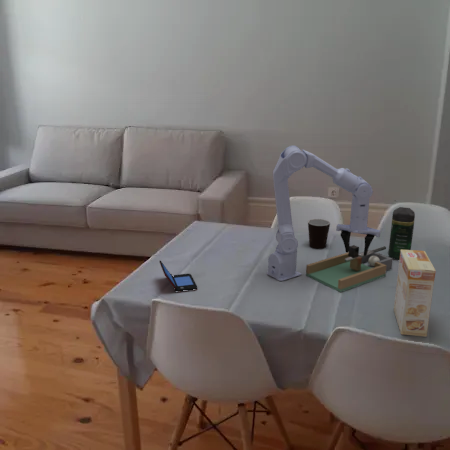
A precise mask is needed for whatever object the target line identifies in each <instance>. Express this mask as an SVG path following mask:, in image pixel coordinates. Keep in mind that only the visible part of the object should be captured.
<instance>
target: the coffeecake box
mask: <svg viewBox="0 0 450 450" xmlns="http://www.w3.org/2000/svg"><path fill="white" fill-rule="evenodd" d="M436 273H437V271H436V268H435V267H434V265H433V263H432V261H431V259H430V257H429V256H428V254H427V252H426V251H425V250H417V249H416V250H415V249H411V250H402V249H401V250H400V260H398V270H397V281H396V288H395V294H394V295H395V296H394V297H395V298H394V304H393V313H394V316H395V318H396V322H397V325H398V326H397V327H398V328H399V333H400V335H403V336H404V335H405V336H413V337H423V338H424V337H428V328H429V321H430V314H431V308H432V307H431V306H432V299H433V291H434V285H435V280H436V279H435V278H436Z"/></svg>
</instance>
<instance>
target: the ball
mask: <svg viewBox="0 0 450 450" xmlns="http://www.w3.org/2000/svg"><path fill="white" fill-rule="evenodd" d="M378 261H380V259H379V258H378V257H377V256H371V257H370V258H369V260H368V262H367V263H368V266H369V267H371V268H374V266H375V262H378Z"/></svg>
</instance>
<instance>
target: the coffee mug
mask: <svg viewBox="0 0 450 450" xmlns="http://www.w3.org/2000/svg"><path fill="white" fill-rule="evenodd" d="M307 227H308V239H309V240H308V241H309V242H308V243H309V247H310V248H311V249H315V250H323V249H326V248H327V242H328V237H329V232H330V227H331V221H329V220H327V219H323V218H312V219H309V220H308V221H307Z"/></svg>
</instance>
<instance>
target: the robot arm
mask: <svg viewBox="0 0 450 450" xmlns="http://www.w3.org/2000/svg"><path fill="white" fill-rule="evenodd" d="M303 168H305V169H309V168H314V169H316V170H318V171H320V172H321V173H323V174H325V175H327V176H329V177H331V179H332V182H333V184H334V185H337V186H338V187H340V188H341V189H343V190H345V191H347V192H349V193H351V195H352V196H351V207H350V220H349V224H340V223H338V224H337V225H336V227H335V229H336V230H335V231H336V232H340V238H341V239H342V242H343V245H344V250H345V253H348V252H349V246H350V242H351V241H350V240H351V233H353V234H360V235H365V236H364V248H363V252H364V256H366V255H367V252H368V250H369V248H370V246H371V244H372V242H373V240H374V238H375V237H376V238H380V237H381V233H382V231H381V230H382V229H376V228H373V227H369V226H368V220H369V210H370V199H371V197H372V196H373V193H374V191H373V187H372V186H371V184H370V183H368V182H367V181H366V180H365V179H364V178H363V177H362V176H360V175H358V176H357V175H355V174H353V173H352V172H351V170H350V169H349V168H347V167H346V168H344V167H340V168H336V167H335V166H333V165H331V164H330V163H328V162H326V161H325V160H323V159H322V158H320V157H319V156H317V155H316V154H314V153H312V152H310V151H307V150H305V149H304V148H300V147H298V146H297V145H289V146H288V147H287V146H286V148H284V150H282V152H281V153H280V154H279V158H278V160H277V162H276V164H275V166H274V168H273V170H272V182H273V189H274V200H275V208H276V216H277V217H276V219H277V232H276V233H275V239H276V241H277V245H276V247H275V251H273V252H272V253H270V254H269V256H268V257H267V258H268V259H267V263H268V266H267V271H266V275H267V276H269V277H272V278H274V279H276V280H277V281H279V282H282V281H283V282H284V281H286V280H289V279H293V278H295V277H300V276H301V275H302V272H299V271H297V263H298V262H297V257H298V256H297V255H298V248H299V247H298V246H299V242H298V241H299V240H297V238H296V236H295V230H294V227H293V219H292V208H291V199H290V189H289V188H290V187H289V178H290V177H291V176H292V175H293V174H294V173H296V172H297V171H300V170H301V169H303Z"/></svg>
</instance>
